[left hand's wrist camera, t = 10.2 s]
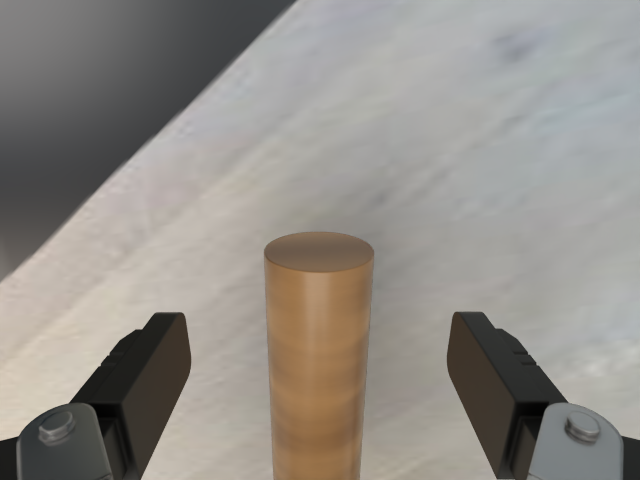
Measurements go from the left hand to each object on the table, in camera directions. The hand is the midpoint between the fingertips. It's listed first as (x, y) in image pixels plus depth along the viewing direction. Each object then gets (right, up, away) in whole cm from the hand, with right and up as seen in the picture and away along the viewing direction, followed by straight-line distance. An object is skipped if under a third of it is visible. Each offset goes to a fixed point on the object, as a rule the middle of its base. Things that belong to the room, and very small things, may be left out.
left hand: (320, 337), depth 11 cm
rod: (0, -8, +17) cm, 18 cm away
